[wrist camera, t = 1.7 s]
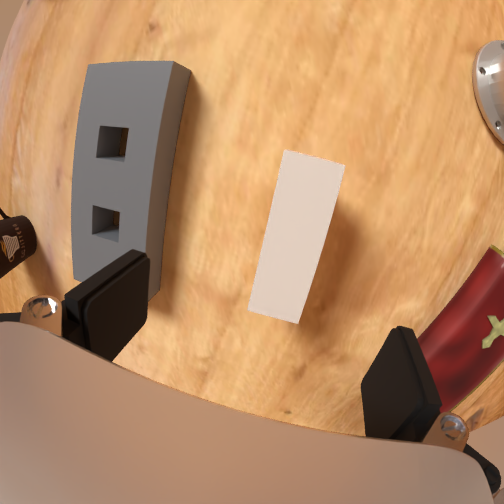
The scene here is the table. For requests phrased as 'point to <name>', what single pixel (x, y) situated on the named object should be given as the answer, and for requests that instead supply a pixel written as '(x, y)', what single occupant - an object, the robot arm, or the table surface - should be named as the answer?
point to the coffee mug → (15, 241)
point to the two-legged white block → (295, 234)
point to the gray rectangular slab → (125, 163)
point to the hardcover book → (468, 333)
